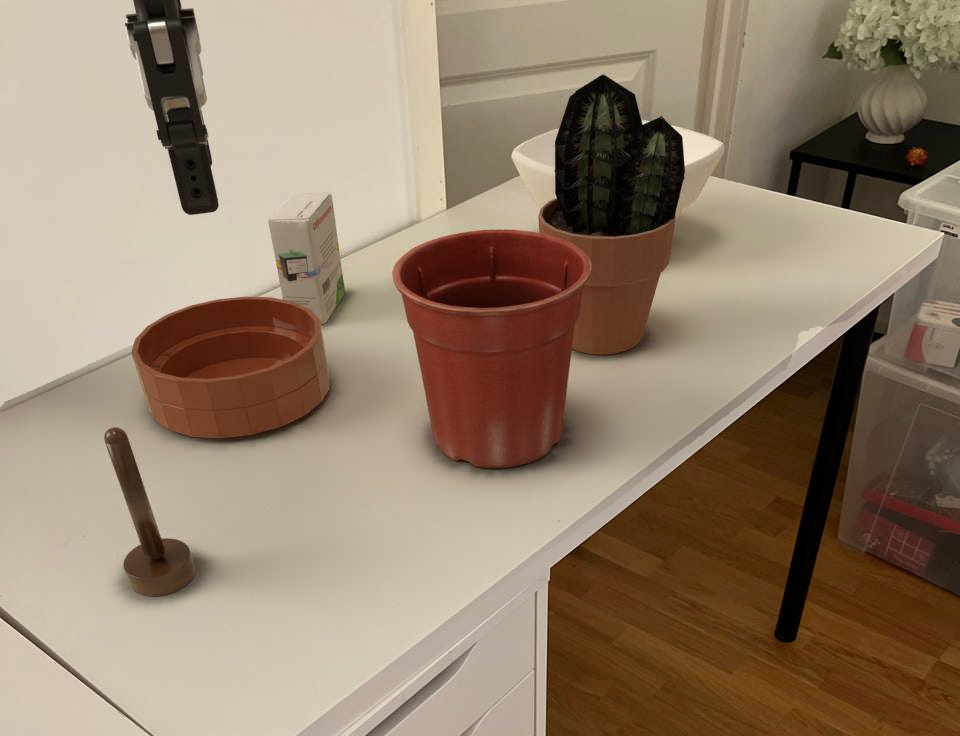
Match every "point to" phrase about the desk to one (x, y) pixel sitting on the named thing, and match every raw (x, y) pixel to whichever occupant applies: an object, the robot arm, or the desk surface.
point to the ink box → (308, 252)
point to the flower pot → (494, 339)
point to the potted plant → (614, 209)
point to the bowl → (698, 148)
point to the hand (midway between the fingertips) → (199, 189)
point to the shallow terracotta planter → (232, 366)
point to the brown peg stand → (147, 530)
